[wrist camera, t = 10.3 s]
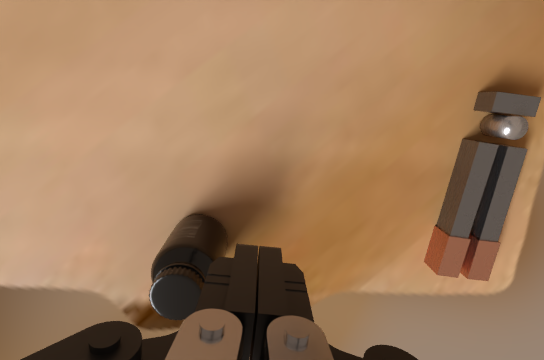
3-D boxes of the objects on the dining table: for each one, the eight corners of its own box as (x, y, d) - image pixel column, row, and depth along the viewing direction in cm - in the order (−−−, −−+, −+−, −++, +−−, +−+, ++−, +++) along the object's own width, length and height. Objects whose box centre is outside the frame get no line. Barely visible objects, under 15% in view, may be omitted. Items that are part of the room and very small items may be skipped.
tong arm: (461, 138, 37) (478, 141, 34) (482, 141, 37) (501, 145, 34) (424, 261, 41) (437, 274, 38) (443, 264, 41) (457, 277, 38)
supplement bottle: (166, 254, 40) (126, 318, 28) (182, 205, 38) (146, 251, 27) (219, 270, 41) (201, 339, 29) (236, 223, 39) (224, 275, 27)
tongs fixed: (478, 92, 36) (504, 91, 32) (523, 98, 36) (554, 98, 32) (431, 263, 41) (449, 280, 37) (471, 267, 41) (492, 284, 37)
